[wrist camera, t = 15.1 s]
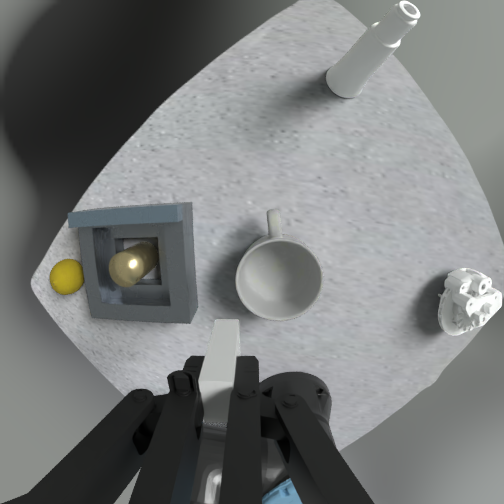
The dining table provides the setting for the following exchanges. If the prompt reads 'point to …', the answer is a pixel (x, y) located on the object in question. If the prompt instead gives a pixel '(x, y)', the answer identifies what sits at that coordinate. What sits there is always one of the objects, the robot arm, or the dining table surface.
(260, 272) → the teacup
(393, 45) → the cosmetic bottle
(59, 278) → the lemon
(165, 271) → the jig
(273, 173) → the dining table surface
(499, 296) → the mechanical part
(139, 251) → the brass cylinder
